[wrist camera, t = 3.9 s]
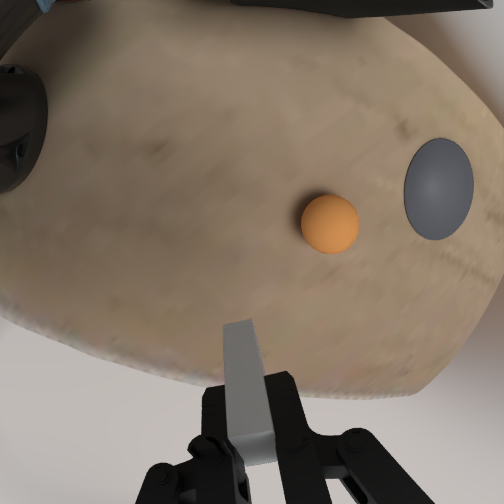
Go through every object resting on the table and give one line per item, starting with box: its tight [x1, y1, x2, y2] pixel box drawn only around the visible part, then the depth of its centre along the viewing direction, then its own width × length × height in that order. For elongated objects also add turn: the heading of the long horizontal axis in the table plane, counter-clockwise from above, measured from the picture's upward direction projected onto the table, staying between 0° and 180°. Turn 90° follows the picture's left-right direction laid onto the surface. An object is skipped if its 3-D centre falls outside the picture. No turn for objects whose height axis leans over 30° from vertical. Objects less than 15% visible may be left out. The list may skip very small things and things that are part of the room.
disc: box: [404, 138, 474, 240], centre depth 28 cm, size 13×13×1 cm
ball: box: [301, 195, 359, 254], centre depth 26 cm, size 6×6×6 cm
